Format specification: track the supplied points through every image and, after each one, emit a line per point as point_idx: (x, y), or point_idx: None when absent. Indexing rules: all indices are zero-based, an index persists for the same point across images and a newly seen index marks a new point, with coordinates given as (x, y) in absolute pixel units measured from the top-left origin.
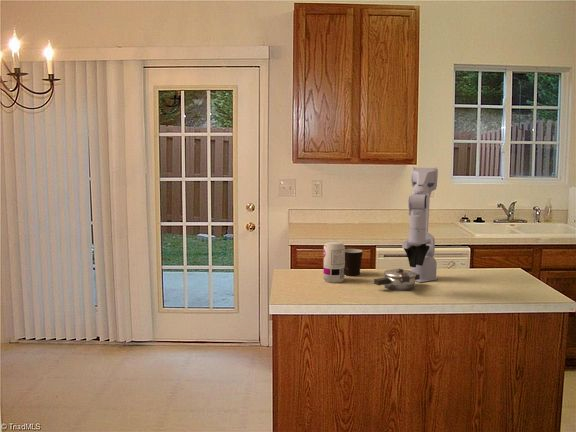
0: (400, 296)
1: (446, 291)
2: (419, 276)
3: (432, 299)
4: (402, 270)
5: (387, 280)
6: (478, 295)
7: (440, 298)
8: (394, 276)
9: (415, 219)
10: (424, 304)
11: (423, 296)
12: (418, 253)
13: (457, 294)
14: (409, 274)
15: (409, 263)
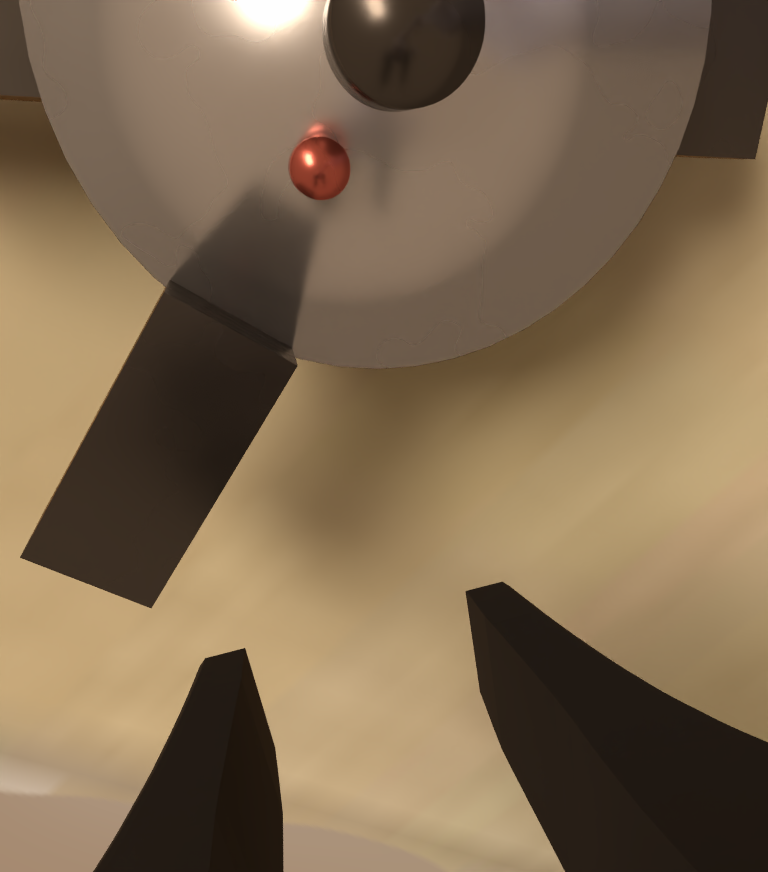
0: (31, 462)
1: (663, 525)
2: (732, 158)
3: (300, 686)
4: (413, 108)
5: None
6: (756, 728)
7: (399, 687)
8: (94, 201)
9: None
10: (94, 783)
11: (299, 572)
12: (609, 851)
13: (649, 645)
14: (441, 273)
15: (184, 711)
